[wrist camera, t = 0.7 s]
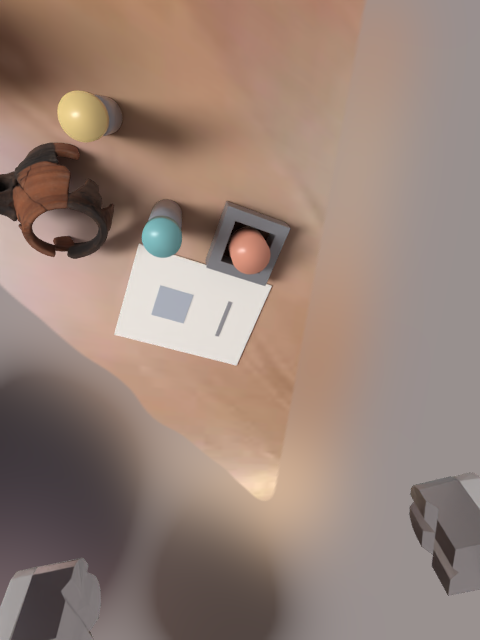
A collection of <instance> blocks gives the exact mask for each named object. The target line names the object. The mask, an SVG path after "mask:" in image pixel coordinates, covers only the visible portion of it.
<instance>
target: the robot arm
mask: <svg viewBox="0 0 480 640" xmlns="http://www.w3.org/2000/svg"><path fill="white" fill-rule="evenodd" d="M410 495H411V497H412V499H413V501H414V502H413V503H412V504H411V506H410V512H409V515H410V520H411V523H412V527H413V530H414V532H415V535H416V537H417V539H418V541H419V543H420V545H421V547H423V548H424V549H426V550H427V551H428V552H430V553H431V554H433V559H432V567H433V569H434V571H435V573H436V574H437V576H438V578H439V580H440V582H441V584H442V586H443V587H444V589H445V591H446V593H447V595H448V596H449V595H454V594H459V593H465V592H470V591H475V590H480V477H479V476H478V475H477V474H475V473H466V474H462V475H458V476H453V477H446V478H442V479H438V480H434V481H429V482H425V483H421V484H417V485H413V486H412V488H411V493H410ZM87 569H88V564H87V563H86V561H85V560H84V559H83V558H79V559H74V560H70V561H65V562H60V563H55V564H51V565H46V566H40V567H35V568H30V569H27V570H21V571H17V572H16V574H15V575H14V576H13V578H12V579H11V581H10V584H9V586H8V589H7V591H6V594H5V596H4V599H3V602H2V604H1V607H0V640H94V639H93V637H92V634H91V632H90V630H91V629H92V627H93V626H94V624H95V623H96V621H97V620H98V618H99V612H100V606H101V590H100V586H99V582H98V580H97V578H96V577H95V575H92V574H90V573H88V572H87Z"/></svg>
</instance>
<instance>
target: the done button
mask: <svg viewBox="0 0 480 640" xmlns="http://www.w3.org/2000/svg"><path fill="white" fill-rule="evenodd" d="M228 247H229V252H230V255H231V259H232V262H233V265H234V266H235V268H236V269H237V270H238V271H240V272H242V273H244V274H256V273H259V272H261V271H262V270H263V269H264V268H265V267H266V266H267V265H268V263H269V260H270V249H269V246H268V245H267V243H266V241H265V239H264V238H263V236H262V234H261V233H260V232H259V231H258V230H256V229H254V228H251V227H244V228H240V229H238V230H237V231H235V232H234V233H233V234H232V236H231V237H230V240H229V244H228Z"/></svg>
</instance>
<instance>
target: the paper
mask: <svg viewBox="0 0 480 640" xmlns="http://www.w3.org/2000/svg"><path fill="white" fill-rule="evenodd" d="M271 287H272V285H269V284H266V286H263V285H259V284H256V283H253V282H250V281H247V280H244V279H240V278H237V277H234V276H231V275H228V274H225V273H221V272H218V271H215V270H212V269H209V268H206V264H203V263H200V262H197V261H193V260H190V259H187V258H184V257H181V256H178V255H172V256H170V257H167V258H159V257H156V256H153V255H151V254H150V253H149V252H148V251H147V250H146V249H145V247H144V245H143V244H140V243H139V245H138V249H137V252H136V256H135V260H134V264H133V267H132V271H131V275H130V278H129V282H128V286H127V289H126V293H125V297H124V300H123V304H122V308H121V311H120V315H119V319H118V322H117V326H116V330H115V334H114V335H118V336H122V337H126V338H130V339H134V340H138V341H142V342H145V343H149V344H153V345H157V346H161V347H165V348H169V349H173V350H177V351H181V352H185V353H189V354H193V355H197V356H201V357H205V358H209V359H213V360H217V361H221V362H225V363H229V364H233V365H237V363H238V361H239V359H240V357H241V354H242V352H243V350H244V348H245V345H246V343H247V341H248V339H249V336H250V334H251V332H252V330H253V327H254V325H255V323H256V320H257V318H258V316H259V314H260V311H261V309H262V307H263V305H264V302H265V300H266V298H267V296H268V293H269V291H270V289H271Z"/></svg>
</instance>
